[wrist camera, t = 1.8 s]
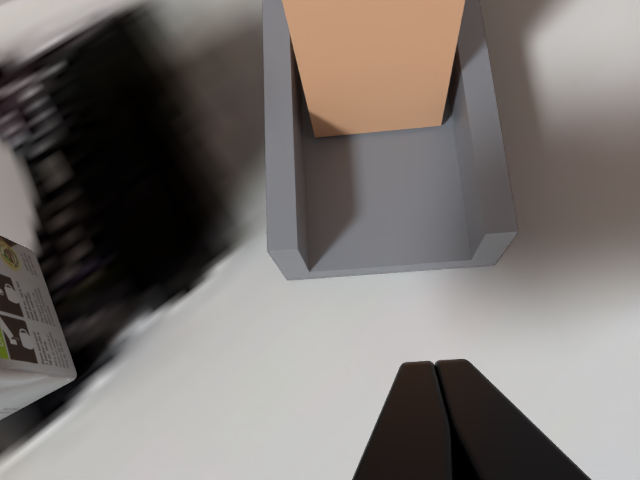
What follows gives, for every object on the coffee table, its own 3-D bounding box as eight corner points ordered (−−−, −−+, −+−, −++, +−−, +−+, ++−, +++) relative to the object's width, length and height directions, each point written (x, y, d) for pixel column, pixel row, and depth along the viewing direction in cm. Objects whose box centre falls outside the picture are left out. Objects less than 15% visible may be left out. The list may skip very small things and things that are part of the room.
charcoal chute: (494, 265, 21) (518, 231, 18) (287, 280, 22) (267, 251, 18) (446, -54, 26) (456, -134, 22) (277, -34, 27) (260, -108, 23)
